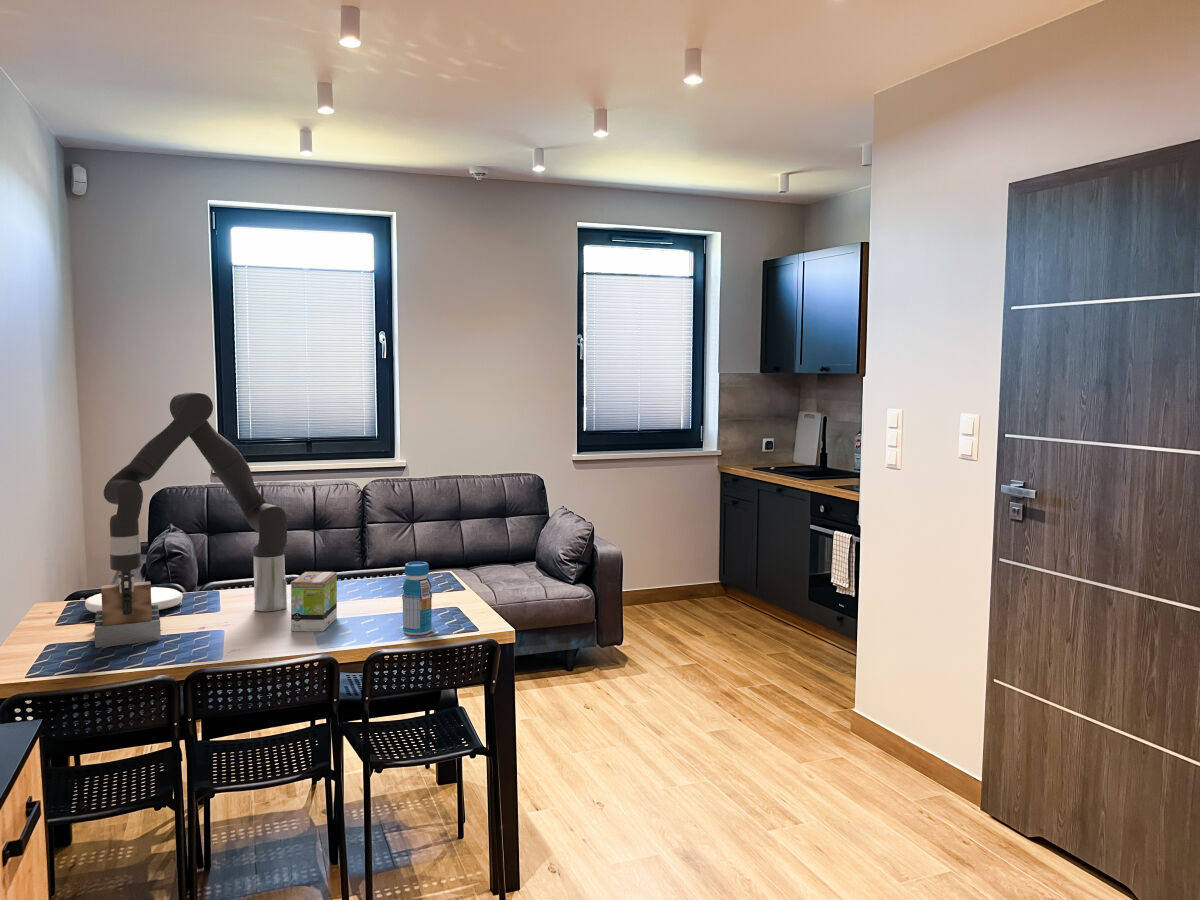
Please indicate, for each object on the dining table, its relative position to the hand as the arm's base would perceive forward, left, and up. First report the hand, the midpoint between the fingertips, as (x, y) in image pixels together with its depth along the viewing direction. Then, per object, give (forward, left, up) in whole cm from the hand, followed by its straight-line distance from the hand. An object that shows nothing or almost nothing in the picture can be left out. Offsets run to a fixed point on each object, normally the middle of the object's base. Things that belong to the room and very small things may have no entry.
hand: (127, 612), depth 248 cm
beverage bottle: (-74, +28, -8) cm, 79 cm away
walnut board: (0, 0, -4) cm, 4 cm away
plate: (-2, -37, -8) cm, 38 cm away
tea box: (-49, +7, -8) cm, 50 cm away
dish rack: (0, -6, -8) cm, 10 cm away
